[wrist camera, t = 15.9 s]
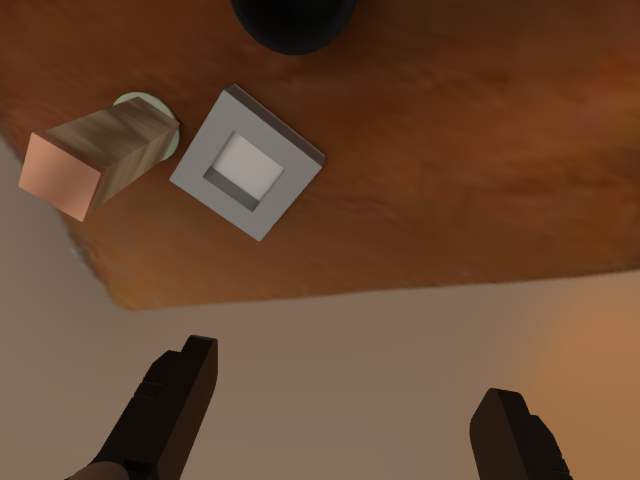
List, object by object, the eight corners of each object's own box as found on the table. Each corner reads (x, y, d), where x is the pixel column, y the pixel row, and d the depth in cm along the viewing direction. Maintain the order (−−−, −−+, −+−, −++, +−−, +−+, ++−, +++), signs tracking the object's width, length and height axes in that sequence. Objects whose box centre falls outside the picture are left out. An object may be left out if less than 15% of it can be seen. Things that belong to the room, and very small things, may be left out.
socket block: (182, 168, 41) (169, 179, 38) (234, 83, 36) (223, 89, 33) (266, 226, 44) (259, 241, 41) (325, 155, 39) (322, 167, 36)
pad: (103, 132, 40) (100, 133, 39) (129, 75, 37) (125, 76, 36) (162, 172, 42) (160, 174, 41) (192, 122, 38) (189, 124, 38)
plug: (122, 133, 39) (18, 186, 27) (137, 93, 37) (31, 132, 25) (164, 160, 40) (82, 222, 28) (182, 123, 38) (101, 173, 26)
